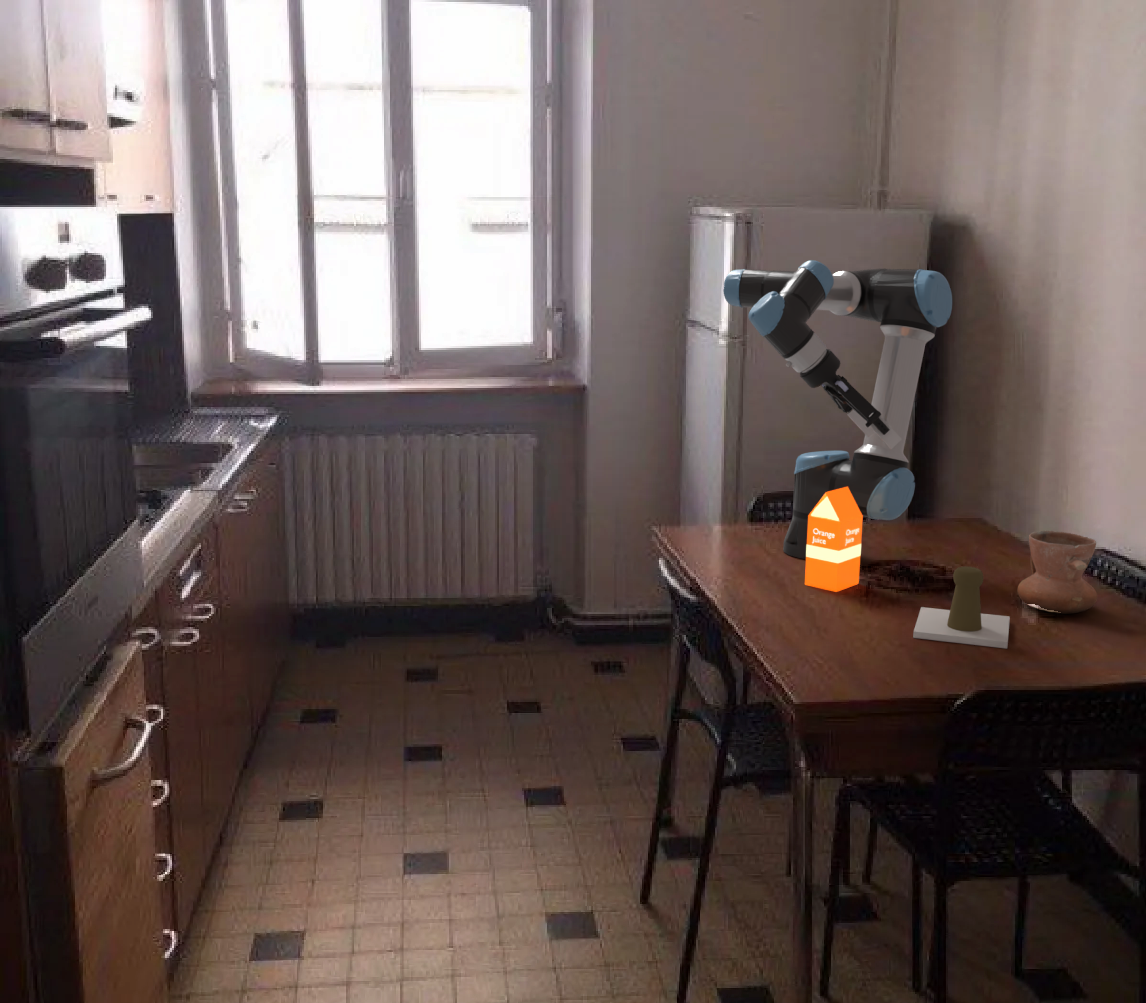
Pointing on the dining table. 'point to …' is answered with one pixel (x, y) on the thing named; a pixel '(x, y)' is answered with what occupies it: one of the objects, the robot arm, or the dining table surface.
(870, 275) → the robot arm
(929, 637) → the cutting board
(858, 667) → the dining table surface
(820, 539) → the orange juice
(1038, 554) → the ceramic jug
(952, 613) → the cork
